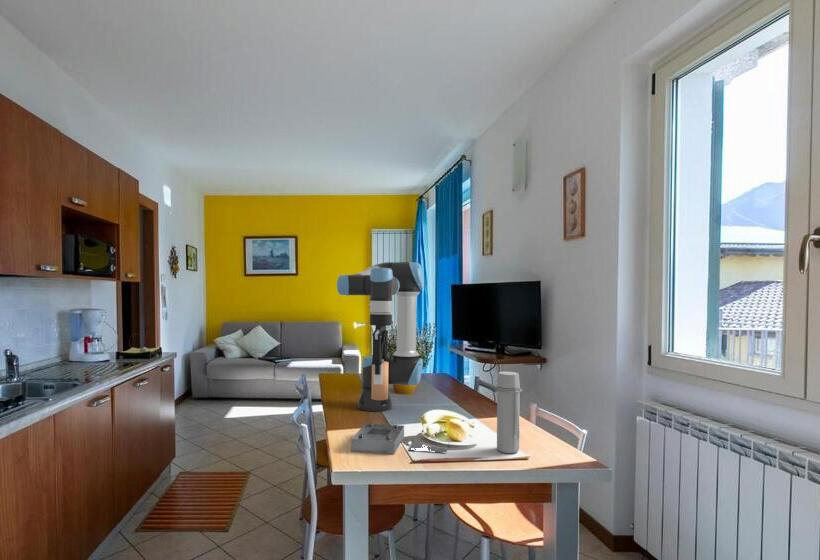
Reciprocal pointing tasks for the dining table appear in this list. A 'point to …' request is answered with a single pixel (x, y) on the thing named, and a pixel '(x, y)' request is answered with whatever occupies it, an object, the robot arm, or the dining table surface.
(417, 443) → the pad
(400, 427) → the housing
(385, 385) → the tan cylinder
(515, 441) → the water bottle
